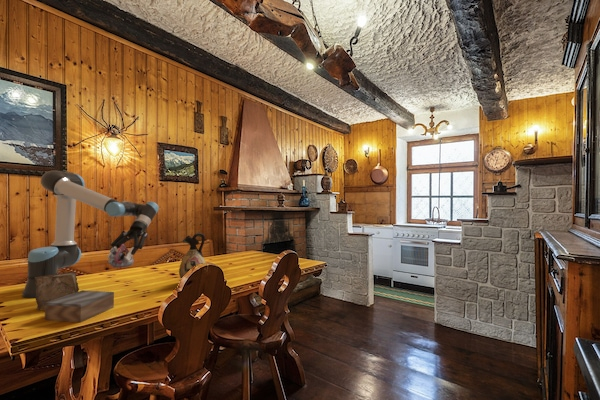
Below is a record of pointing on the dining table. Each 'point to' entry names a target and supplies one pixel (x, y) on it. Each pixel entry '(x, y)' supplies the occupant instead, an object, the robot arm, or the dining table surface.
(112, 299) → the wooden block
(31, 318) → the dining table surface
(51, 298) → the mineral sample
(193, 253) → the ceramic jug
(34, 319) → the dining table surface
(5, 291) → the dining table surface
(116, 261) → the brake caliper
